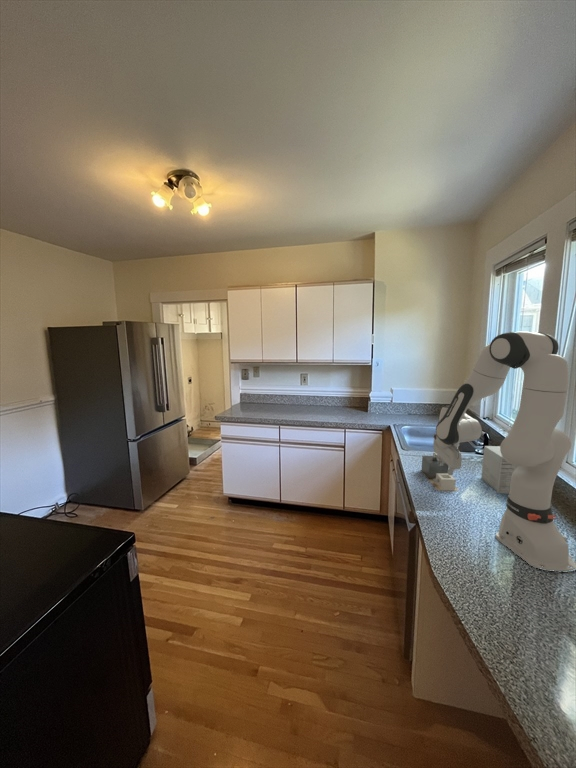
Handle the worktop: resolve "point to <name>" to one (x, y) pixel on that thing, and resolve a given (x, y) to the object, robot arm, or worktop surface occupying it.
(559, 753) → the worktop surface
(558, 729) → the worktop surface
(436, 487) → the board
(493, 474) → the supplement box
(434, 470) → the stepped grey block
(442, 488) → the pump housing
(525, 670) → the worktop surface
